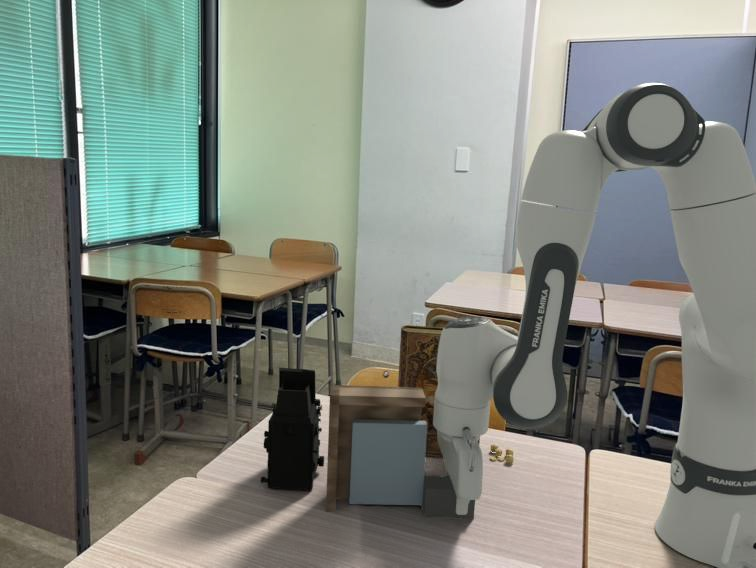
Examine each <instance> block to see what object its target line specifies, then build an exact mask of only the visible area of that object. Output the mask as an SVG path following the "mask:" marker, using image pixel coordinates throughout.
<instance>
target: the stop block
mask: <svg viewBox="0 0 756 568" xmlns="http://www.w3.org/2000/svg"><path fill="white" fill-rule="evenodd" d="M456 497H457V496H456V493H455V490H454V488H453V485H452V482H451V479H450V476H445V475H424V486H423V502H422V505H421V508H422V514H423V518H425V519H427V518H430V519H431V518H432V519H468V520H470V519H472V520H473V519H474V517H475V507H476V506H475V505H476V500H470V502H469V504H468V512H467V514H466V515H458V514H457V513H456V511H455V499H456Z"/></svg>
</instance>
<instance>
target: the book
mask: <svg viewBox="0 0 756 568" xmlns="http://www.w3.org/2000/svg"><path fill="white" fill-rule="evenodd" d="M443 328H444V327H439V326H425V325H424V326H423V325H410V324H408V325H407V324H406V325H403V326H401V329H400V344H399V360H398V361H399V362H398V380H397V381H398V383H397V387H417V388H422V389H423V392H424V395H425V398H426V400H425V407H422V409H421V421H426V422H427V438H426V454H425V459H436V460H437V459H438V460H439V459H440V460H444V459H443V456H442V453H441V450H440V447H439V444H438V438H437V429H436V428H435V427H434V426H433V415H434V398H435V392H436V389H437V386H438V377H437V372H436V367H437V355H438V347H439V341H440V336H441V333H442V330H443ZM480 440H481V437H480V438H479V440H478V441H477V442H478V444H479V445H480V442H481V441H480Z"/></svg>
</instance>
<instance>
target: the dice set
mask: <svg viewBox="0 0 756 568" xmlns="http://www.w3.org/2000/svg"><path fill="white" fill-rule="evenodd" d="M490 450H491V451H492V452H496V454H495V456H491V457H489V460H490V459H491V460H492V461H491V460H490V461H491V462H495V461H494V460H497V459H498V460H497V461H499V460H500V461H499V462H501V461H502V462H504V461H505V464H507V465H513V464H514V459H515V458H514V450H513V449H512V448H506V449H505V455H506V456H505V458H504V457H502V455H503V449H500V448H499V445H498V444H491V445H490ZM496 456H501V457H496ZM503 460H504V461H503ZM512 463H513V464H512Z"/></svg>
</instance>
